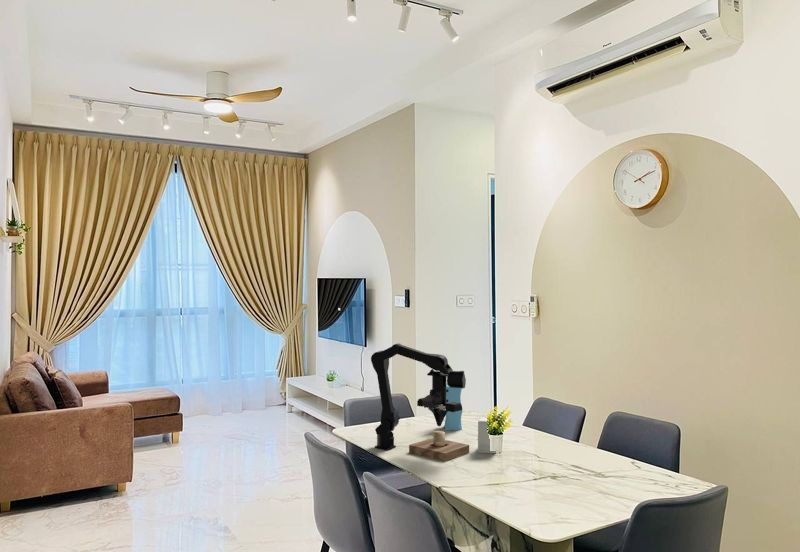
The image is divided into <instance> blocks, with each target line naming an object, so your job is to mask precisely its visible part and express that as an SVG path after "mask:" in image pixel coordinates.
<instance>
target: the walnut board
mask: <svg viewBox="0 0 800 552" xmlns="http://www.w3.org/2000/svg"><path fill="white" fill-rule="evenodd" d="M408 453H410V454H415V455H419V456H423V457H426V458H431V459H435V460H439V461H444V462H448V461H450V460H452V459H456V458H457V457H460V456H464V455H466V454H468V453H470V444H466V443H462V442H457V441H453V440H452V441H451V440H448V439H445V446H444V447H441V448H439V447H435V446H433V437H431V438H427V439H424V440H421V441H417V442H413V443H411V444H409V445H408Z"/></svg>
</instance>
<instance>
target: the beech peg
mask: <svg viewBox="0 0 800 552" xmlns="http://www.w3.org/2000/svg"><path fill="white" fill-rule="evenodd" d="M432 438H433V446H435V447H439V448H441V447H444V446H445V440H446V432H445V431H443V430H434V431H433V436H432Z"/></svg>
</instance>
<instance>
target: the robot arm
mask: <svg viewBox="0 0 800 552" xmlns="http://www.w3.org/2000/svg"><path fill="white" fill-rule="evenodd" d="M396 355H398V356H399V355H400V356H402V357H405V358H408V359H410V360H414V361H417V362H418V363H422V364H424V365H426V366H427V367H428V368H430V371H429V372H428V373H426V374H427V376H429V377H430V376H431V378H432V379H431V383H432V384H431V389H430V390H429V394H427V395H426V396H424V397H421V398H418V399H417V401H416V406H417V407H422V408H424V409H426V408H427V409H428V411H430V412H431V413H432V414H433V417H434V419H435V422H436V426H437V427H441V426H442V423H443V422H444V421H445V420H444V419H445V418H446V414H447V412H448V411H449V412H456V411H460V410H462V411H463V405H462V402H461V403H457V402H451V403H447V402H448V399H446V392H448V389H446V384H447V385H448V386H450V388H462V389H465V388H466V383H467V382H466V381H467V379H466V375H465V371H464V370H453V368H452V366H451V365H450V364H449V361H448V358H447V357H446V356H445V355H444V354H439V353H427V352H424V351H421V350H418V349H415V348H412V347H409V346H406V345H404V344H403V345H402V343H395V344H393V345H391V346H390V347H388V348H386V349H384V350H379V351H376V352H374V353H372V355H371V357H370V361H371V364H372V367H373V370H374V371H375V373H376V376H377V377H376V378H377V382H378V388H379V389H378V390H379V396H380V402H381V412H380V413H381V415H380V424H379V425H378V426H377V427H376V428H375V430H374V431H375V433H376V436H377V437H376V445H374V448H376V449H380V450H384V451H387V450H390V449H391V450H392V449H394V448H396V447H397V446H396V444H395V436H394V432H393V431H394V430H395V428H396V427H397V426H398V425H399V424H400V423H399V422H400V420H401V417H400V412H399V409H395V407H394V405H393V403H394V402H393V399H392V398H393V396H392V392H391V391H392V390H391V384H390V377H389V367H390V359H392V358H393V357H395V356H396Z"/></svg>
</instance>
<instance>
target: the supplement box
mask: <svg viewBox="0 0 800 552" xmlns="http://www.w3.org/2000/svg"><path fill="white" fill-rule="evenodd" d="M487 418H488V417H478V421H477V422H478V423H477V453H481V454H496V453H497V450H496V451H490V439H489V435H488V432H487Z"/></svg>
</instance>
